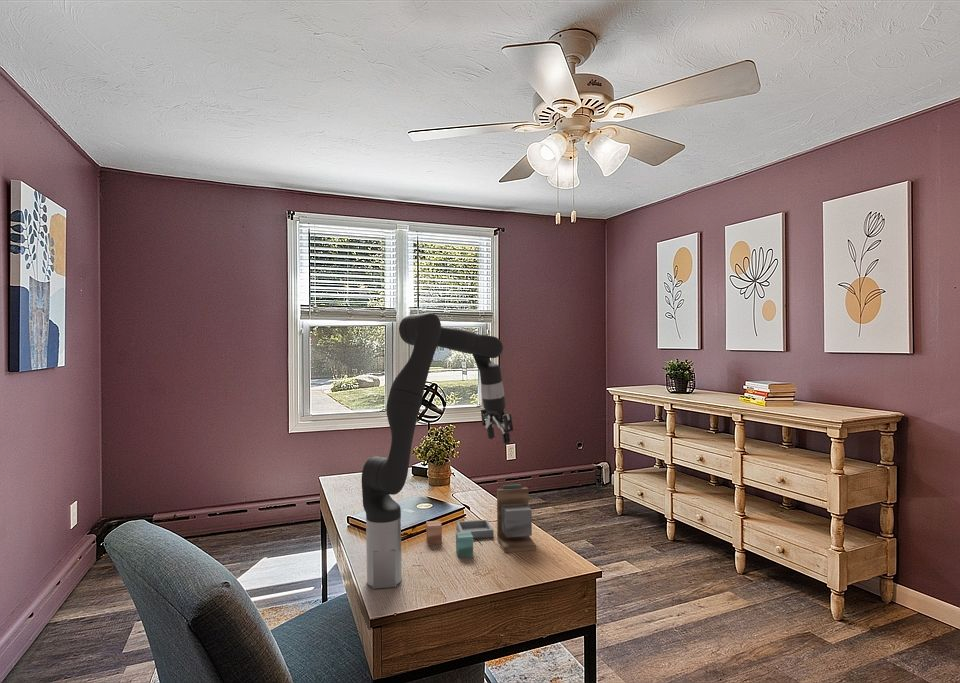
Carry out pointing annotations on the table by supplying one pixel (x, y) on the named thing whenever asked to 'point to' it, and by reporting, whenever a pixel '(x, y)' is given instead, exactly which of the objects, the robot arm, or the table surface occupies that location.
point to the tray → (476, 528)
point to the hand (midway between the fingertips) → (499, 440)
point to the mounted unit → (514, 519)
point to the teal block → (464, 544)
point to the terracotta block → (433, 532)
